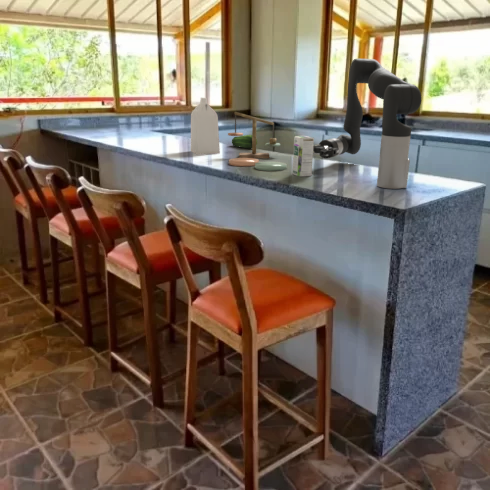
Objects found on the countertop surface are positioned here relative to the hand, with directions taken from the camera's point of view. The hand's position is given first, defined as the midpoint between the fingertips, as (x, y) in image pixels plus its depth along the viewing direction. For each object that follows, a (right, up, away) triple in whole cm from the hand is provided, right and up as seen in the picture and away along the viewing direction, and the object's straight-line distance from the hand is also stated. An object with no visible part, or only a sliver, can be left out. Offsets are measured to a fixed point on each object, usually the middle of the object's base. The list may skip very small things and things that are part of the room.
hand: (310, 152), depth 184 cm
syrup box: (-4, -9, -2) cm, 10 cm away
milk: (-45, +10, +53) cm, 71 cm away
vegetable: (-27, +16, +71) cm, 78 cm away
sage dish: (-15, -4, +12) cm, 20 cm away
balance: (-21, +5, +40) cm, 45 cm away
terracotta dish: (-26, -1, +22) cm, 34 cm away
